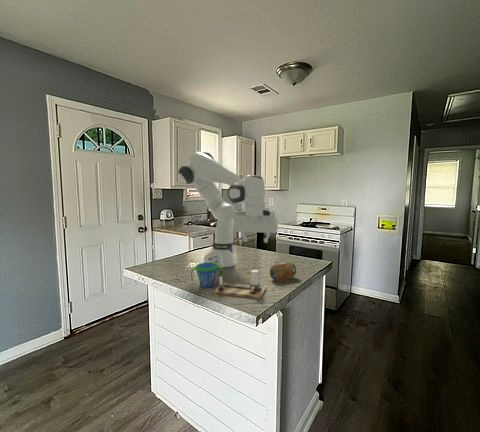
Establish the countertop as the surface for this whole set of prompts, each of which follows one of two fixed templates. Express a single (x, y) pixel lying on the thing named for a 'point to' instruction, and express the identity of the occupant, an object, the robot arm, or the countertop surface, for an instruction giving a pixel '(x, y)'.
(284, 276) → the tin
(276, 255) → the countertop surface
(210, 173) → the robot arm
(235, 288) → the board
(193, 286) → the countertop surface
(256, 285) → the sliding pointer
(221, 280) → the fixed leg
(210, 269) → the snack cup
